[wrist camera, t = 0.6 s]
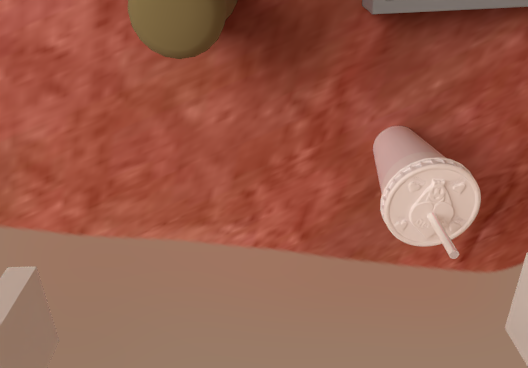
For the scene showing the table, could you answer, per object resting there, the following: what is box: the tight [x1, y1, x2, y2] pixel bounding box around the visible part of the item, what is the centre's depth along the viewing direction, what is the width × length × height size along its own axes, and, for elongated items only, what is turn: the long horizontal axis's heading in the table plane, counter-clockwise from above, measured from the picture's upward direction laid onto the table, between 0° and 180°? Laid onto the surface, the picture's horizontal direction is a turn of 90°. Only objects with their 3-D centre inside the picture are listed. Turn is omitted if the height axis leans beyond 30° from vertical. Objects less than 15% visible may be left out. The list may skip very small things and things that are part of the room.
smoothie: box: [373, 126, 481, 259], centre depth 35 cm, size 6×6×14 cm
